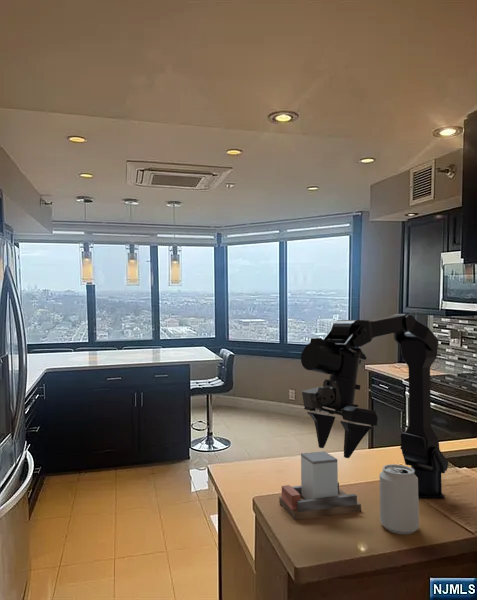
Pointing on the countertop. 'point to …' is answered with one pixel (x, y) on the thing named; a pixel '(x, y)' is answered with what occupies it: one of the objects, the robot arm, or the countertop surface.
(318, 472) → the grey rectangular box
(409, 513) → the can
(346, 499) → the grey rail holder
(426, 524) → the countertop surface
